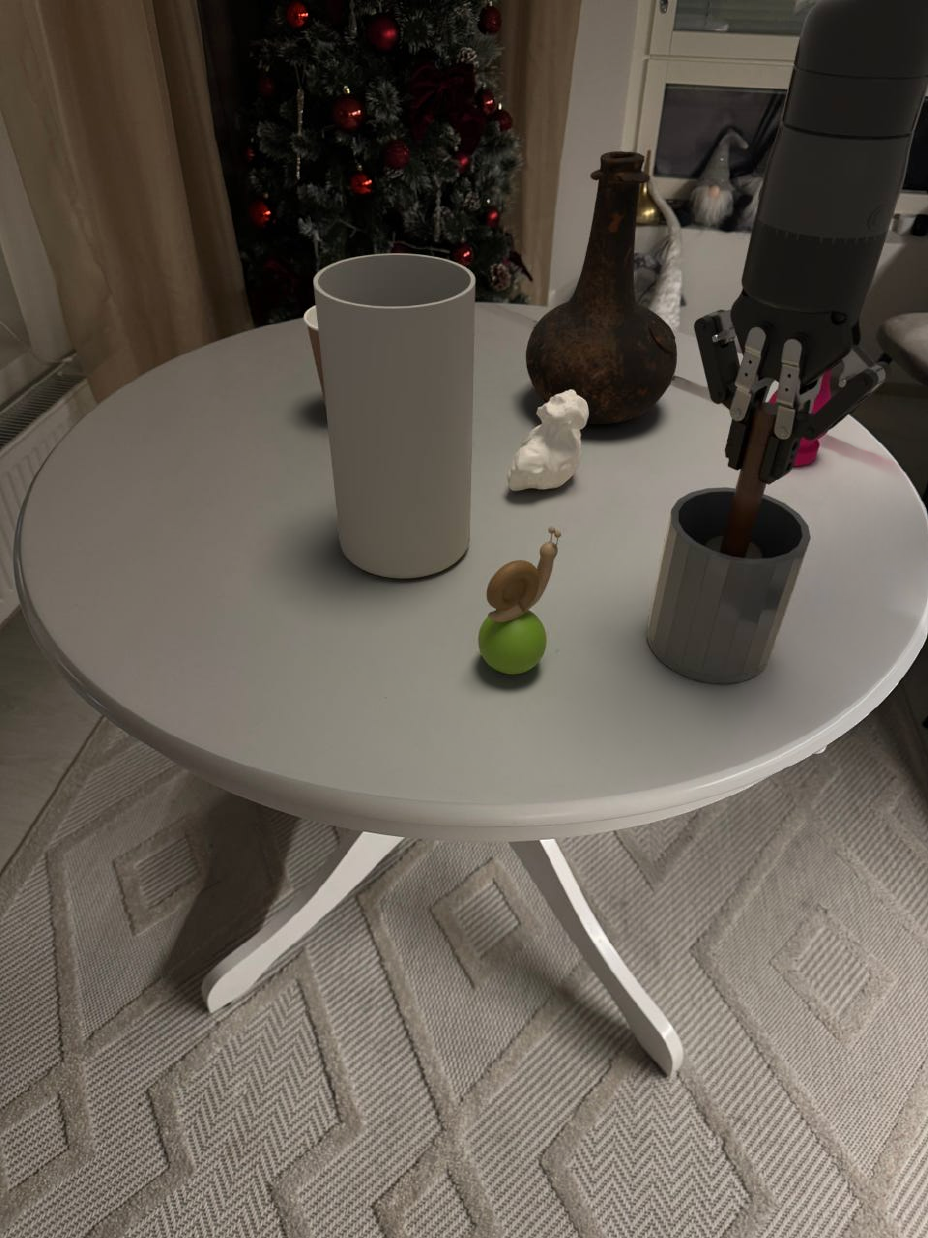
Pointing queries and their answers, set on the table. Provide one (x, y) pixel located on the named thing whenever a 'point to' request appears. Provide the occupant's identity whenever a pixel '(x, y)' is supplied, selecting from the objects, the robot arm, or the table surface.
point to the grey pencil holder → (723, 588)
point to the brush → (748, 489)
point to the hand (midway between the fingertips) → (754, 471)
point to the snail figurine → (517, 613)
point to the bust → (551, 445)
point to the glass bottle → (606, 314)
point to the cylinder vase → (399, 408)
